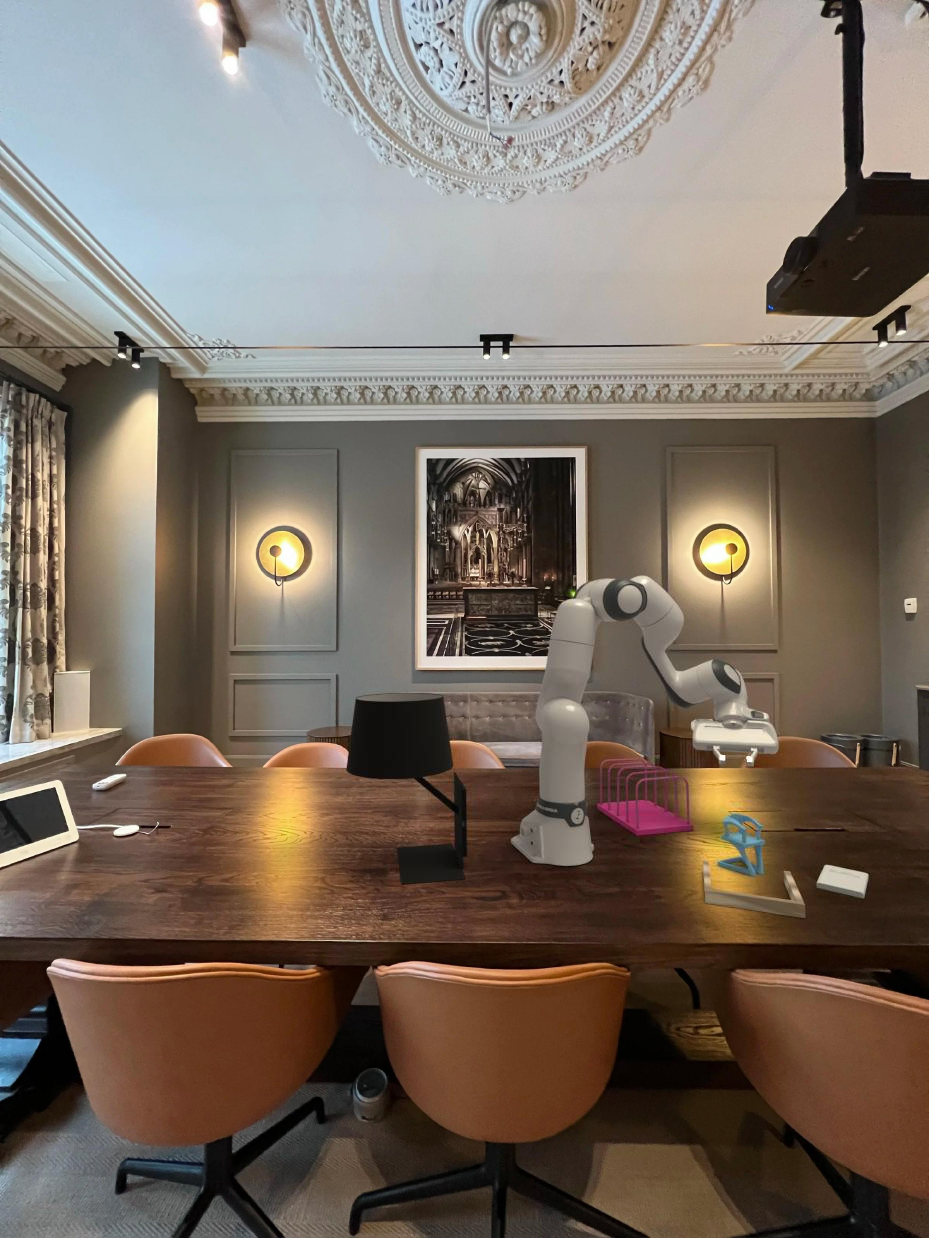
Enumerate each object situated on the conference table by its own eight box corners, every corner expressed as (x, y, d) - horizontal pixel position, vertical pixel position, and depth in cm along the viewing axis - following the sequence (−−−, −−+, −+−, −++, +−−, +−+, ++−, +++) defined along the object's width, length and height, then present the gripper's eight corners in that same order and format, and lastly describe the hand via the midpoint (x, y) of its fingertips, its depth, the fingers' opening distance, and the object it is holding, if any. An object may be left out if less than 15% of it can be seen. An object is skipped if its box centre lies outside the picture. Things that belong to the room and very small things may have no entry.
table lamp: (473, 882, 122) (471, 700, 123) (343, 893, 117) (343, 704, 119) (456, 841, 147) (454, 690, 149) (348, 849, 142) (348, 693, 144)
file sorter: (647, 805, 178) (645, 756, 178) (694, 831, 153) (692, 774, 154) (596, 809, 174) (595, 759, 175) (636, 836, 150) (635, 778, 150)
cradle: (703, 871, 126) (702, 860, 126) (790, 883, 120) (790, 871, 120) (705, 902, 111) (705, 890, 111) (805, 918, 104) (804, 904, 105)
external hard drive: (816, 889, 117) (824, 870, 127) (864, 900, 112) (868, 880, 122) (816, 881, 118) (824, 863, 127) (863, 892, 112) (868, 872, 122)
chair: (747, 879, 122) (746, 824, 122) (716, 865, 130) (715, 813, 130) (771, 873, 125) (770, 819, 126) (740, 859, 133) (739, 809, 133)
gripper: (690, 711, 151) (691, 754, 142) (775, 714, 144) (782, 759, 134) (690, 725, 155) (692, 767, 146) (773, 728, 147) (780, 773, 138)
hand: (736, 764), depth 140 cm, fingers open, 5 cm apart
